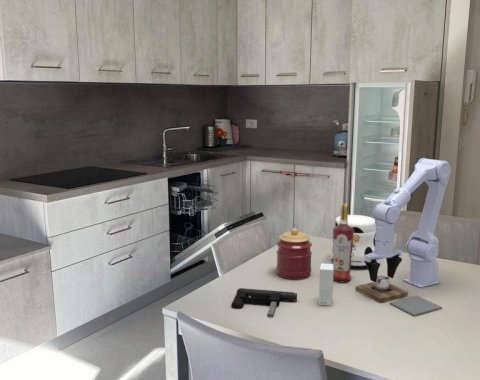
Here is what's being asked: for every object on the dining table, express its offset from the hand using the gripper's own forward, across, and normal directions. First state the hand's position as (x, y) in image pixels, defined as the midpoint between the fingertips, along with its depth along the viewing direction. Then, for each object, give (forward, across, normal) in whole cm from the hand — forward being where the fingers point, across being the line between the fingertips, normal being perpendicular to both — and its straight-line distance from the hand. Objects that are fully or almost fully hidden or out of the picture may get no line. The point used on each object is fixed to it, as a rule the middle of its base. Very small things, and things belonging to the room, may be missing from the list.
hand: (381, 279), depth 162 cm
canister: (+5, +16, -29) cm, 34 cm away
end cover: (+5, 0, 0) cm, 5 cm away
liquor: (+5, +4, -16) cm, 17 cm away
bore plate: (+5, 0, 0) cm, 5 cm away
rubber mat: (+5, -2, +13) cm, 14 cm away
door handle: (+6, +40, -10) cm, 42 cm away
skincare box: (+5, +21, -3) cm, 22 cm away
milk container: (+5, -12, -28) cm, 31 cm away
